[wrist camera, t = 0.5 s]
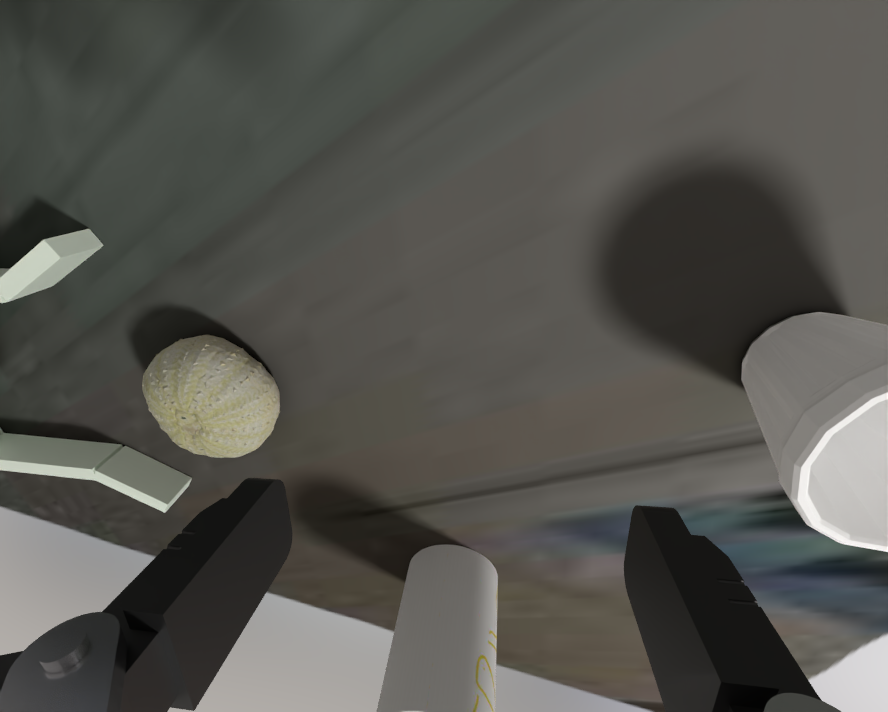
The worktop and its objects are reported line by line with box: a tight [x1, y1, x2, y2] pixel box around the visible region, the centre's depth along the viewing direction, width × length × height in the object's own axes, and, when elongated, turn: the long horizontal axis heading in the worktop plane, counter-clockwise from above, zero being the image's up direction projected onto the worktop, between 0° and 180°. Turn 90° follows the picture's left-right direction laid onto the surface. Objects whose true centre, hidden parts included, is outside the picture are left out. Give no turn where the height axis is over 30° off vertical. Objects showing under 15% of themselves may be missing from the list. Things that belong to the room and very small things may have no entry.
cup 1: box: [377, 544, 498, 712], centre depth 33 cm, size 8×8×12 cm
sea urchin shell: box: [142, 335, 280, 458], centre depth 30 cm, size 9×8×8 cm
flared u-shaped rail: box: [0, 229, 192, 513], centre depth 32 cm, size 22×18×3 cm
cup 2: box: [741, 312, 888, 552], centre depth 21 cm, size 10×10×9 cm
